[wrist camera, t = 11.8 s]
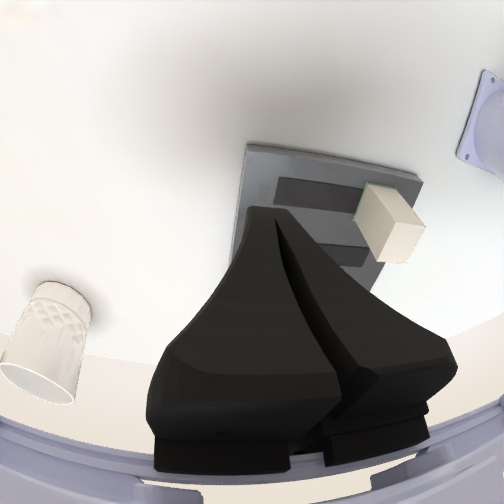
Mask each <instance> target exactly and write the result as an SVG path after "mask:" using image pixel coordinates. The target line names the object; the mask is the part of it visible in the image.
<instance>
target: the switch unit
mask: <svg viewBox="0 0 504 504" xmlns="http://www.w3.org/2000/svg"><path fill="white" fill-rule="evenodd" d="M423 183H424V182H423V181H422V180H421V179H420V178H419V177H418V176H417V175H414V174H410V173H406V172H402V171H398V170H394V169H390V168H386V167H381V166H377V165H372V164H368V163H363V162H358V161H353V160H348V159H343V158H338V157H332V156H327V155H321V154H315V153H309V152H303V151H296V150H289V149H282V148H275V147H267V146H259V145H250V144H246V150H245V156H244V163H243V170H242V176H241V183H240V190H239V197H238V204H237V211H236V218H235V225H234V232H233V239H232V247H231V254H230V262H229V266H230V264H231V262H232V261H233V259H234V256H235V254H236V252H237V250H238V247H239V245H240V243H241V240H242V235H243V229H244V223H245V217H246V211H247V208H248V207H249V206H262V207H272V208H282V209H287V210H288V211H289V212H290V213H291V214H292V215H293V216H294V218H295V219H296V220H297V221H298V222H299V223H300V224H301V226H302V227H303V228H304V229H305V230H306V231H307V233H308V234H309V235H310V236H311V237H312V238H313V239H314V240H315V242H316V243H317V244H318V245H319V246H320V247H321V248H322V249H323V250H324V251H325V252H326V253H327V254H328V255H329V256H330V257H331V258H332V259H333V260H334V261H335V262H336V263H337V264H338V265H339V266H340V267H341V268H342V269H343V270H344V271H345V272H346V273H347V274H349V275H350V276H351V277H352V278H353V279H354V280H356V281H357V282H358V283H359V284H360V285H361V286H363V287H364V288H365V289H366V290H368V291H369V292H370V290H371V288H372V286H373V285H374V283H375V281H376V279H377V277H378V276H379V274H380V272H381V270H382V268H383V266H384V265H385V263H386V262H377V261H376V259H375V257H374V255H373V253H372V251H371V249H370V248H369V246H368V244H367V242H366V240H365V238H364V236H363V234H362V233H361V231H360V229H359V227H358V225H357V224H356V222H355V218H356V216H357V213H358V211H359V208H360V205H361V203H362V200H363V197H364V195H365V192H366V189H367V187H368V184H369V185H374V186H379V187H385V188H390V189H394V190H397V191H398V192H399V194H400V195H401V196H402V197H403V198H404V200H405V201H406V202H407V203H408V204H409V206H410V207H411V208H413V206H414V203H415V201H416V199H417V197H418V194H419V192H420V190H421V187H422V185H423Z"/></svg>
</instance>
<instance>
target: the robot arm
mask: <svg viewBox="0 0 504 504" xmlns="http://www.w3.org/2000/svg"><path fill="white" fill-rule="evenodd" d="M491 78H492V80H491ZM466 154H467V155H466ZM465 156H466V157H465ZM457 157H458V158H459V159H460V160H461V161H464V162H467V163H469V164H472V165H474V166H476V167H479V168H481V169H483V170H486V171H488V172H490V173H493V174H495V175H497V176H499V177H500V178H501V179H502V180H503V181H504V82H503V81H502V80H500V79H499V78H498V77H496V76H495V75H494V74H492V73H491V72H489V71H484V72H483V74H482V77H481V81H480V85H479V88H478V92H477V95H476V99H475V102H474V105H473V108H472V111H471V114H470V117H469V120H468V123H467V126H466V129H465V132H464V135H463V137H462V140H461V143H460V146H459V148H458V151H457ZM457 369H458V366H457V363H456V361H455V359H454V356H453V354H452V352H451V349H450V347H449V345H448V343H447V341H446V339H444V338H442V337H440V336H438V335H436V334H435V333H433V332H431V331H429V330H427V329H425V328H423V327H421V326H420V325H418V324H416V323H414V322H413V321H411V320H410V319H408V318H406V317H405V316H403V315H402V314H400V313H398V312H397V311H395V310H394V309H392V308H391V307H389V306H388V305H387V304H385V303H384V302H382V301H381V300H380V299H378V298H377V297H376V296H374V295H373V294H372V293H370V292H369V291H368V290H366V289H365V288H364V287H363V286H361V285H360V284H359V283H358V282H357V281H356V280H354V279H353V278H352V277H351V276H350V275H349V274H347V273H346V272H345V271H344V270H343V269H342V268H341V267H340V266H339V265H338V264H337V263H336V262H335V261H334V260H333V259H332V258H331V257H330V256H329V255H328V254H327V253H326V252H325V251H324V250H323V249H322V248H321V247H320V246H319V245H318V244H317V243H316V242H315V240H314V239H313V238H312V237H311V236H310V235H309V234H308V233H307V231H306V230H305V229H304V228H303V227H302V226H301V224H300V223H299V222H298V221H297V220H296V219H295V218H294V216H293V215H292V214H291V213H290V212H289V211H288V210H287V209H282V208H272V207H262V206H249V207H248V208H247V211H246V217H245V223H244V229H243V235H242V240H241V243H240V245H239V247H238V250H237V252H236V254H235V256H234V259H233V261H232V262H231V264H230V266H229V268H228V270H227V272H226V273H225V275H224V277H223V278H222V280H221V282H220V283H219V285H218V286H217V288H216V289H215V291H214V292H213V294H212V295H211V296H210V298H209V299H208V300H207V302H206V303H205V304H204V305H203V307H202V308H201V309H200V310H199V312H198V313H197V314H196V315H195V317H194V318H193V319H192V320H191V321H190V323H189V324H188V325H187V326H186V327H185V328H184V329H183V330H182V331H181V332H180V333H179V334H178V335H177V336H176V337H175V338H174V339H173V340H172V341H171V342H170V344H169V345H168V346H167V347H166V349H165V351H164V353H163V355H162V357H161V359H160V361H159V363H158V365H157V368H156V370H155V372H154V375H153V377H152V380H151V384H150V387H149V391H148V396H147V406H146V421H147V423H148V424H149V426H150V428H151V430H152V432H153V434H154V435H155V445H154V454H145V453H138V452H131V451H125V450H119V449H113V448H108V447H103V446H98V445H93V444H89V443H85V442H80V441H76V440H73V439H69V438H65V437H61V436H58V435H54V434H51V433H48V432H44V431H41V430H38V429H35V428H32V427H29V426H26V425H24V424H21V423H18V422H15V421H13V420H10V419H7V418H5V417H3V416H0V504H203V496H202V495H201V493H200V492H199V491H198V490H188V489H179V488H171V487H164V486H157V485H149V484H144V482H143V481H141V480H140V479H143V480H151V481H159V482H168V483H180V484H198V485H250V484H268V483H280V482H289V481H298V480H306V479H312V478H319V477H324V476H331V475H336V474H341V473H346V472H351V471H355V470H359V469H363V468H368V467H372V466H376V465H379V464H383V463H386V462H390V461H393V460H397V459H400V458H403V457H406V456H409V455H412V454H415V453H417V454H416V456H415V458H413V459H410V460H408V461H405V462H403V463H401V464H399V465H397V466H395V467H393V468H390V469H388V470H385V471H382V472H379V473H377V474H374V475H371V477H370V480H371V486H372V488H371V490H370V491H366V492H363V493H359V494H355V495H351V496H347V497H342V498H338V499H333V500H329V501H323V502H318V503H312V504H504V478H503V472H504V394H503V395H502V396H501V397H500V398H499V399H497V400H495V401H493V402H491V403H489V404H487V405H484V406H482V407H480V408H478V409H475V410H473V411H471V412H469V413H466V414H464V415H461V416H458V417H456V418H453V419H450V420H448V421H445V422H442V423H439V424H436V425H434V426H431V427H427V425H426V421H425V418H424V415H426V414H427V413H428V412H429V409H428V406H427V402H426V401H427V400H428V399H430V398H431V397H432V396H433V395H435V394H436V393H437V392H439V391H440V390H441V389H442V388H444V387H445V386H446V385H447V384H448V383H449V382H450V381H451V380H452V378H453V377H454V376H455V375H456V372H457Z"/></svg>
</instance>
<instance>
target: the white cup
mask: <svg viewBox="0 0 504 504" xmlns="http://www.w3.org/2000/svg"><path fill="white" fill-rule="evenodd" d="M90 318H91V311H90V306H89V305H88V303H87V302H86V300H85V299H84V298H83V297H82V296H81V295H80V294H79V293H77V292H76V291H75V290H73V289H72V288H70V287H68V286H66V285H63V284H60V283H58V282H45V283H43V284H41V285H39V286H38V287H37V289H36V291H35V292H34V294H33V296H32V298H31V300H30V302H29V304H28V305H27V307H26V308H25V309H24V311H23V313H22V315H21V317H20V319H19V320H18V322H17V324H16V326H15V329H14V331H13V333H12V335H11V337H10V339H9V342H8V344H7V346H6V349H5V351H4V353H3V355H2V358H1V360H0V372H1V374H2V375H3V376H4V377H5V378H6V379H7V380H8V381H9V382H10V383H12V384H13V385H14V386H16V387H17V388H19V389H20V390H22V391H24V392H25V393H27V394H29V395H31V396H33V397H35V398H38V399H40V400H43V401H46V402H49V403H52V404H57V405H72V404H73V403H74V402H75V395H76V389H77V384H78V378H79V373H80V368H81V363H82V358H83V351H84V347H85V343H86V333H87V330H88V326H89V322H90Z"/></svg>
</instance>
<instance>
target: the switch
mask: <svg viewBox="0 0 504 504" xmlns="http://www.w3.org/2000/svg"><path fill="white" fill-rule="evenodd" d="M355 222H356V224H357V225H358V227H359V229H360V231H361V233H362V234H363V236H364V238H365V240H366V242H367V244H368V246H369V248H370V249H371V251H372V253H373V255H374V257H375V259H376V261H377V262H392V263H407V261H408V259H409V258H410V256H411V254H412V252H413V250H414V249H415V247H416V245H417V243H418V241H419V239H420V237H421V235H422V234H423V232H424V230H425V228H426V226H425V225H424V223H423V222H422V221H421V219H420V218H419V217H418V216H417V214H416V213H415V212H414V211H413V209H412V208H411V207H410V206H409V204H408V203H407V202H406V201H405V200H404V198H403V197H402V196H401V195H400V194H399V192H398V191H397V190H394V189H390V188H385V187H379V186H374V185H369V184H368V187H367V189H366V192H365V195H364V197H363V200H362V203H361V205H360V208H359V211H358V213H357V216H356V218H355Z"/></svg>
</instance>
